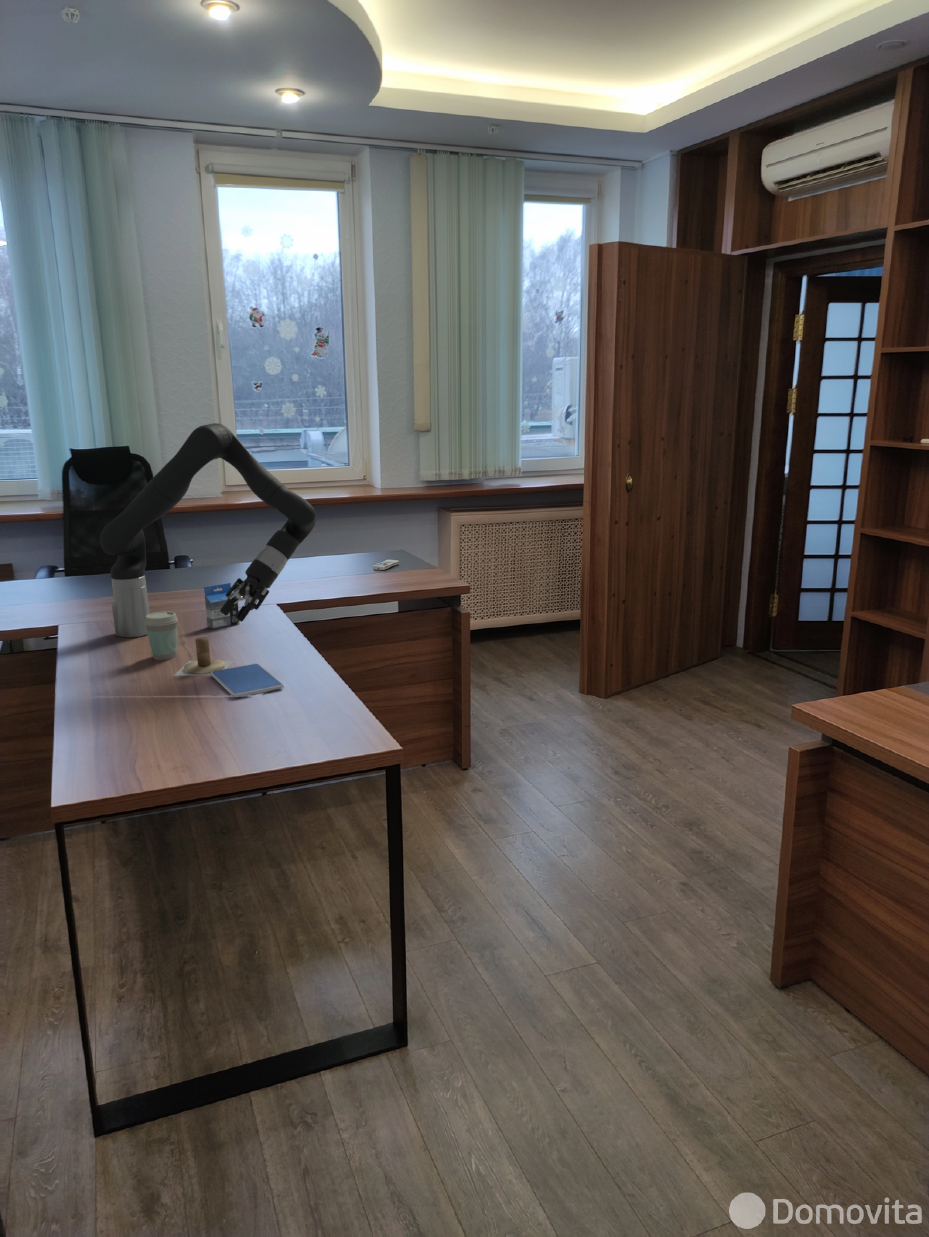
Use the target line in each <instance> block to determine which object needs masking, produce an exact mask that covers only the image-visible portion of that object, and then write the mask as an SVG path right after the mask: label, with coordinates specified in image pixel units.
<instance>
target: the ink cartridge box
mask: <svg viewBox="0 0 929 1237" xmlns="http://www.w3.org/2000/svg"><path fill="white" fill-rule="evenodd" d="M231 587H232V586H231V582H229V583H222V584H216V585H215V584H214V585H210V586H205V587H203V591H204V601H205V602H204V604H205V605H204V606H205V615H206V626H207V628H209V629H212V630H215V629H221V628H226V627H230V626H231V627H232V626H235V625H240V622H241V621H239V620H238V619H236V618H235V616H236V614H237V613H238V612H239V610H240V609H239V602H237V603H236V604H235V605H234V607H233V608H232V610H231V611H230V612H229V614H228V615H224V614H223V613H221V612H220V610H221V608H222V607H223V606H224V604H225V603H226V601H227V600H228V599H227V596H226V593H227V592H228V591H229V590H230V588H231ZM217 589H220V590H217ZM232 593H233V592H232ZM232 593H231V594H232ZM236 598H237V597H236Z"/></svg>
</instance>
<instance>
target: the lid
mask: <svg viewBox="0 0 929 1237" xmlns="http://www.w3.org/2000/svg"><path fill="white" fill-rule="evenodd" d="M194 639H195V640H194V642H195V651H196V658H197V659H196V660H192V661H193V662H190V663H188V662H187V663H188V664H187V663H186V664H185V665H183V666H184V671H185V672H186V673H189V674H208V673H211V672H212V671H218V670H222V669H223V668H224V667H225V663H224V661H225V660H222V659H217V658H216V659H215V658H211V651H210V642H209V641H210V640H209V637H206V636H199V637H196V638H194Z"/></svg>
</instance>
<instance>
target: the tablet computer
mask: <svg viewBox="0 0 929 1237" xmlns="http://www.w3.org/2000/svg"><path fill="white" fill-rule="evenodd" d="M210 675H211V676H210V677H212V678H214V679H215V681H216V682H218V683H219V685H221V686H222V687H223V688H224V689H225V690H226V691H227V692H228V693H229V694H230V695H231V697H233V698H240V697H245V696H246V697H247V696H252V695H257V694H262V693H266V692H270V691H276V690H280V689H283V688H284V687H285V685H284V683H282V681H280V680H279V679H277V678H276V677H275V676H274V675H273V674H271V673H270V672H269V671H267V670H266V669H265V668H264V667H262V665H260V664H258V663H252V664H246V665H240V666H235V667H228V668H227V669H223V670H218V671H212V672H211V673H210Z"/></svg>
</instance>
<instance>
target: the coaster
mask: <svg viewBox="0 0 929 1237" xmlns="http://www.w3.org/2000/svg"><path fill="white" fill-rule="evenodd" d="M193 661H194V660H189V661H187V663H186V664H188V663H190V662H193ZM223 661H224V663H225V667H224V668H223V669H229V668H230V667H231V665H233V663H234V662H235V660H223ZM184 666H185V665H183V666H182V667H181V668H180V669H179V670H177V672H176V673H174V674H173V677H197V676H198V677H201V676H202V677H206V676H207V677H209V676H210V677H212V676H211V675H210V673H208V674H189V673H186V672H185V671H184ZM223 669H222V670H223Z"/></svg>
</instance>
